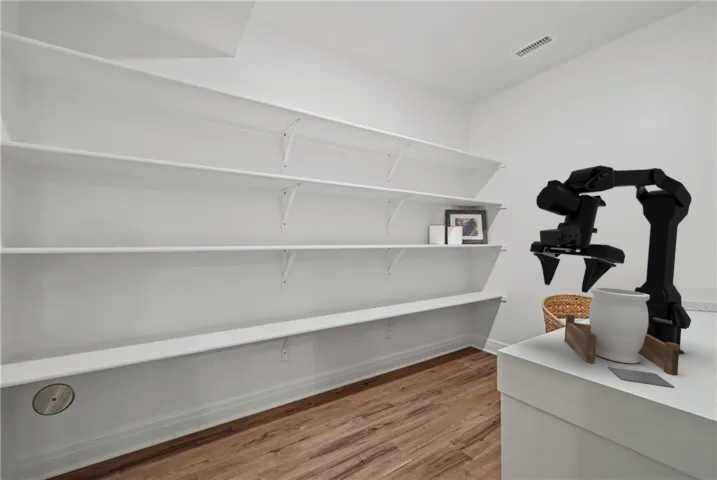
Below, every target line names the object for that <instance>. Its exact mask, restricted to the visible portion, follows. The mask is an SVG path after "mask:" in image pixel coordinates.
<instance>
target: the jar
mask: <svg viewBox="0 0 717 480" xmlns="http://www.w3.org/2000/svg"><path fill="white" fill-rule="evenodd" d="M590 293H591V294H592V295H593V296H592V298H591V300H590V306H589V310H588V311H589V312H588V319H589V324H590V326H591V333H594V334H595V335H596V352H595V356H598V357H601V358H603V359H606V360H609V361H613V362H618V363H621V364H622V363H623V364H638V363H640V361H641V360H640V358H639V356H638V354H639V353H638V352H639V351H640V350H641V348H642V346H643V343H644V339H645V336H646V333H647V328H648V309H647V305H646V301H648V300H649V298H650V297H649V296H650V295H648V294H644V293H640V292H635V290H628V289H621V288H611V287H610V288H609V287H591V289H590Z"/></svg>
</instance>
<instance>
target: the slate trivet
mask: <svg viewBox="0 0 717 480" xmlns="http://www.w3.org/2000/svg"><path fill="white" fill-rule="evenodd" d="M607 369H608V370H609V371H611V372H612V373H613V374H614V375H615V376H616V377H618V378H619V379H620V380H621V381H627V382H632V383H633V382H634V383H639V384H647V385H653V386H659V387H666V388H667V387H668V388H674V389H675V387H676V386H674V385H673V384H671V383H670V382H668V381H667V380H666V379H664V378H662V377H661V376H660V375H659V374H657V373H655V372H647V371H641V370H633V369H626V368H620V367H619V368H618V367H613V366H607Z"/></svg>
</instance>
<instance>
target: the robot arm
mask: <svg viewBox="0 0 717 480" xmlns="http://www.w3.org/2000/svg"><path fill="white" fill-rule="evenodd" d="M648 186H656V187H657V188H658V189H657V190H650V191H648V189H647V188H646V187H648ZM625 187H626V188H627V187H634V188H635V189H636V192H635V199H636V200H637V201H638V203H640V205H641V206H642V215H643V216H644V217H645V219H646V221H647V222H648V223H649V226H650V228H649V238H648V253H647V254H648V255H647V264H646V275H645V282H643V284H642V285H641V286H640V287H639V286H636V287H635V288H634V291H635V292H640V293H644V294H648V295H650V296H649V297H650V298H649V300H648V301H646V305H647V309H648V328H647V333H646V334H648V335H650V336H652V337H654V338H656V339H658V340H660V341H662V342H664V343H665V342H670V343H676V344H678V345H679V354H685V351H684V350H683V349H682V348H681V339H682V330H687V329H688V328H690V326H691V323H692V319H691V317H690V316H689V314H688V312H687V310H685V308H684V306H683V305H682V295H681V293H680V292H679V291H678V288H677V287H676V286H675V285H674V277H675V276H674V275H675V263H676V251H677V240H678V239H677V238H678V227H679V225H680V223H682V221H683V220H684V219H685V218H686V217H687V216H688V214H689V211H690V206H691V203H692V195H691V193H690V192H689V190H688V189H687V188H686V186H685V185H684V184H683V183H682V182H681V181H679V180H677V179H674V178H672V177H670V176H669V175H667V174H666V173H665V171H664V170H663V169H662V168H657V167H653V168H645V169H625V170H624V169H621V170H618V169H617V170H616V169H614V168H613V167H611V166H606V165H596V166H595V165H594V166H590V167H586V168H585V167H584V168H580V169H575V170H573V171H571V172H570V174H569V177H568V178H567V179H566V180H565V181H564V182H563V181H560V180H558V179H552V180H548V181H547V184H546V186H544V187H543V188H542V189H541V190H540V192H539V193H538V194H537V196H536V201H535V202H536V206H537V207H538V208H539V209H540V210H542V211H546V212H549V213H552V214H555V215H557V216H562V217H564V221H563V222H559V223H558V224H557V228H551V229H543V230H539V241H537V240H535V241H533V242H531V245H530V249H529V252H531V253H533V256H534V257H537V259H538V260H539V261H540V266H541V271H542V275H543V281H544V285H545V286H550V285H551V283H552V281H553V279H554V276H555V273H556V271H557V269H558V267H559V265H560V261H561V258H559V257H560V256H561V255H565V256H575V257H578V256H579V257H583V261H584V265H585V269H584V270H585V271H584V274H583V279H582V283H581V292H582V293H585V294H587V293H588V292H589V291H591V288H593V287H594V285H595V284H596V283H597V282H598V281H599V280H600V279H601V277H603V276H604V275H605V274H606V273H607V272H608V271H609V270H610V269H612V268H617V264H620V265H623V264H624V263H625V259H626V255H625V252H624V250H623V249H622V248H618V247H615V246H612V245H609V244H602V243H601V244H599V243H598V244H597V243H591V241H592V237H593V234H598V230H599V229H598V228H596V227H595V224H596V223H595V222H596V219H597V214H598V208H602V207H606V206H607V203H606V201H605V200H603V198H602V197H601V195H590V194H591V193H600V192H605V191H609V190H611V189H614V188H625Z"/></svg>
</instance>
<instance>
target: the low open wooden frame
mask: <svg viewBox="0 0 717 480" xmlns="http://www.w3.org/2000/svg"><path fill="white" fill-rule="evenodd" d="M575 318H576V316H575V315H574V314H571V313H566V315H565V329H564V342H566V343H567V345H568V346H570V348H571V349H572V350H574V352H575V353H577V354H578V355H579V357H581V358H582V359H583V360H584V361H585V362H586V363H589V364H596V354H595V352H596V335H595V334H594V333H591V326H590V323H581V322H575ZM637 354H639V355H641V356H642V357H644V358H645V359H647V360H648V361H650V362H651V363H653V364H655V365H656V366H658V367H659V368H661V369H662V370H663V372H665V373H666V374H667V375H671V376H678V372H679V359H680V353H679V345H678V344H676V343H670V342H665V343H664V342H662V341H660V340H658V339H656V338H654V337H652V336H650V335H648V334H646V336H645V339H644V343H643V346H642V348H641V350H640V351H639V352H638V353H637Z"/></svg>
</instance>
